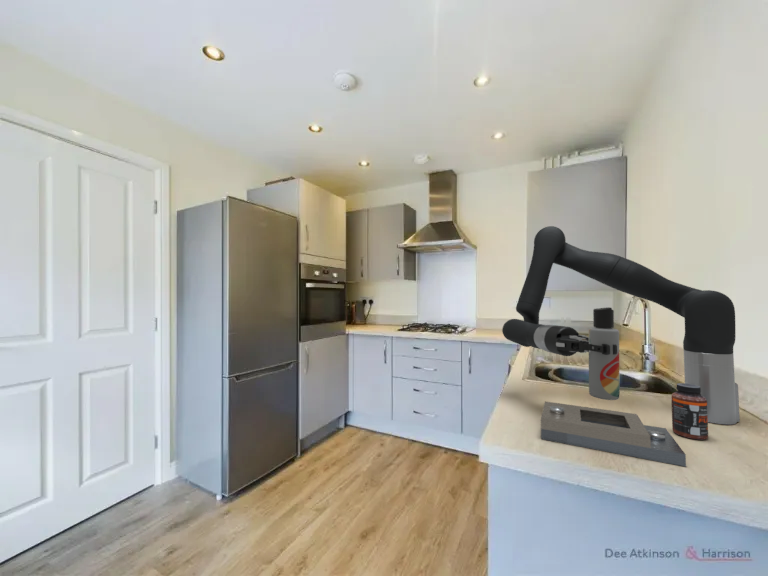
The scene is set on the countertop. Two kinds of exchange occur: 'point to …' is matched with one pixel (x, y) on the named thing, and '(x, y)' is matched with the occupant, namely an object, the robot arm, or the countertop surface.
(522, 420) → the countertop surface
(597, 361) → the lotion bottle
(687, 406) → the supplement bottle
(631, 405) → the countertop surface
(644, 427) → the bolted steel plate
